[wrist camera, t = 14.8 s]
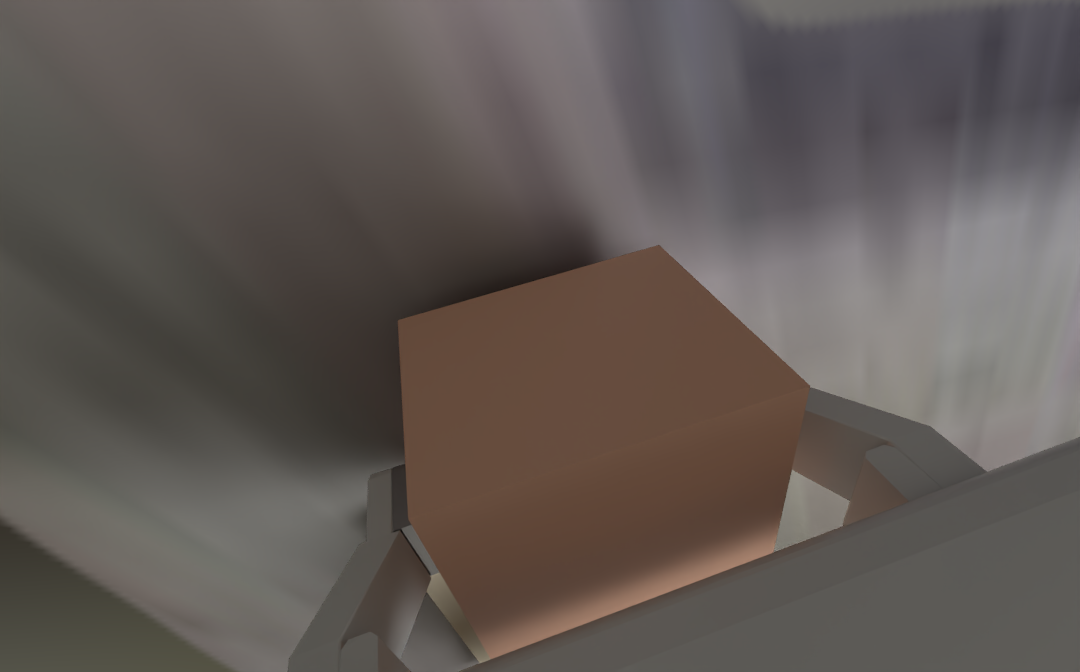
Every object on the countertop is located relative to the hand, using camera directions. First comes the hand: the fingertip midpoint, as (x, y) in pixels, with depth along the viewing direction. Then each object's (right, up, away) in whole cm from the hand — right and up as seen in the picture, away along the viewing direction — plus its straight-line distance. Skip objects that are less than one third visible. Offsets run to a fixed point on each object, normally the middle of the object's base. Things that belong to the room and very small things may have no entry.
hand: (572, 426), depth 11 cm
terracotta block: (0, +1, +1) cm, 2 cm away
